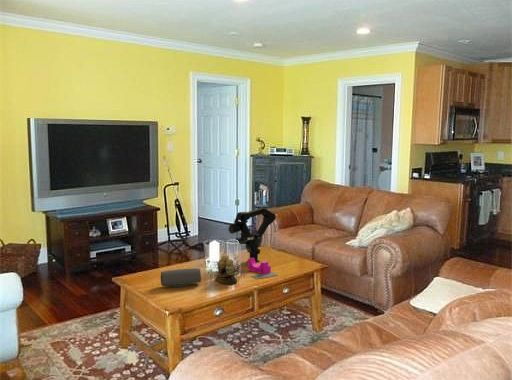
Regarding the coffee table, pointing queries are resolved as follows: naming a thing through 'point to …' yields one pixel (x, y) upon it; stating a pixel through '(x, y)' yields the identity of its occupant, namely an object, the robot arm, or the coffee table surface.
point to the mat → (264, 275)
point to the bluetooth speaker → (180, 277)
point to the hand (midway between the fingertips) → (254, 250)
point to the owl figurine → (226, 271)
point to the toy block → (259, 266)
